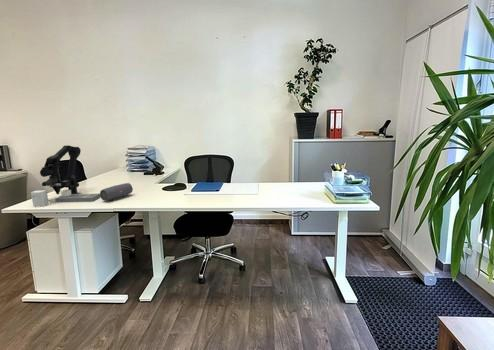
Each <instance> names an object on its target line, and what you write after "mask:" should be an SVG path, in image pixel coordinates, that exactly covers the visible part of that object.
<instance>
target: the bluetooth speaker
mask: <svg viewBox="0 0 494 350" xmlns="http://www.w3.org/2000/svg"><path fill="white" fill-rule="evenodd" d="M133 190H134V189H133V186H132V184H131V183H129V182H126V183H121V184H115V185H112V186H109V187H106V188H103V189H101V190H100V192H99V193H100V197H101V200H102V201H104V202H105V201H110V200H111V201H115V200H118V199H122V198H124V197H126V196H127V195H129V194H132V193H133Z"/></svg>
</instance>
